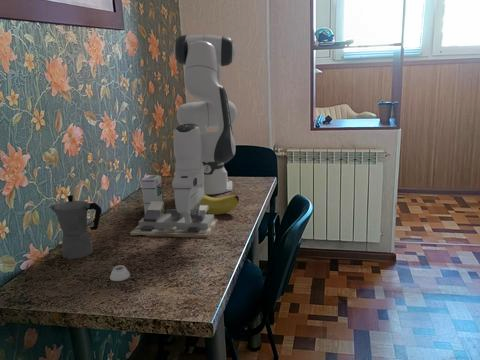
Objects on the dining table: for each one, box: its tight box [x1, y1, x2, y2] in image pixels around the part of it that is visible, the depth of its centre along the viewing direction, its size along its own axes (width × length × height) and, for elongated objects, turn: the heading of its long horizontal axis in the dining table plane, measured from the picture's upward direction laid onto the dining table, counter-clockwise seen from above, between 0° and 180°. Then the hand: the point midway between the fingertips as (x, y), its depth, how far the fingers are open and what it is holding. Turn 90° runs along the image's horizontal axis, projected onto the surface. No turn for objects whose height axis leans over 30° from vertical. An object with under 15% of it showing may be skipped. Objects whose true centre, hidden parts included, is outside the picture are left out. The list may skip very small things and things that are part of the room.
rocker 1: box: [142, 201, 165, 222], centre depth 150 cm, size 9×4×2 cm, turn 170°
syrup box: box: [140, 174, 166, 215], centre depth 162 cm, size 6×6×14 cm
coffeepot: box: [49, 194, 103, 260], centre depth 128 cm, size 15×9×18 cm, turn 85°
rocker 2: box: [165, 208, 182, 217], centre depth 148 cm, size 9×4×2 cm, turn 170°
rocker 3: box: [190, 205, 209, 219], centre depth 147 cm, size 9×4×2 cm, turn 170°
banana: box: [200, 194, 240, 215], centre depth 159 cm, size 23×6×20 cm, turn 78°
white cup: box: [109, 264, 131, 282], centre depth 113 cm, size 5×3×5 cm
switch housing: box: [138, 212, 215, 229], centre depth 149 cm, size 9×24×2 cm, turn 80°
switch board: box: [129, 218, 219, 239], centre depth 147 cm, size 15×26×2 cm, turn 80°
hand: (192, 218), depth 139 cm, fingers open, 8 cm apart
